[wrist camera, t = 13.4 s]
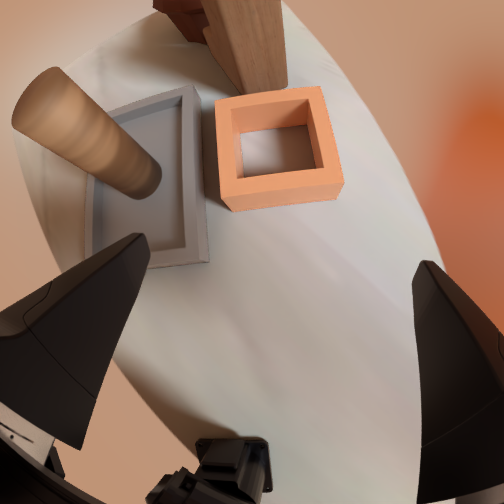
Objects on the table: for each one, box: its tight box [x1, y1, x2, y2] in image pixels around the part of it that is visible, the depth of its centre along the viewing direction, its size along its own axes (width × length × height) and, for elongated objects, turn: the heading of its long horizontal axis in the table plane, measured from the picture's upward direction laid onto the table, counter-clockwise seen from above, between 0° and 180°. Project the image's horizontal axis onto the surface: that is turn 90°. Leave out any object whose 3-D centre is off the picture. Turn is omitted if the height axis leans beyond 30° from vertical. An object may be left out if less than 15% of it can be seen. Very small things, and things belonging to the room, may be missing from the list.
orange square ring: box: [215, 86, 344, 212], centre depth 21 cm, size 8×8×4 cm
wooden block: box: [201, 0, 288, 95], centre depth 16 cm, size 9×4×18 cm, turn 27°
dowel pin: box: [12, 67, 162, 200], centre depth 17 cm, size 4×4×14 cm
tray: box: [84, 85, 209, 269], centre depth 23 cm, size 16×11×2 cm
